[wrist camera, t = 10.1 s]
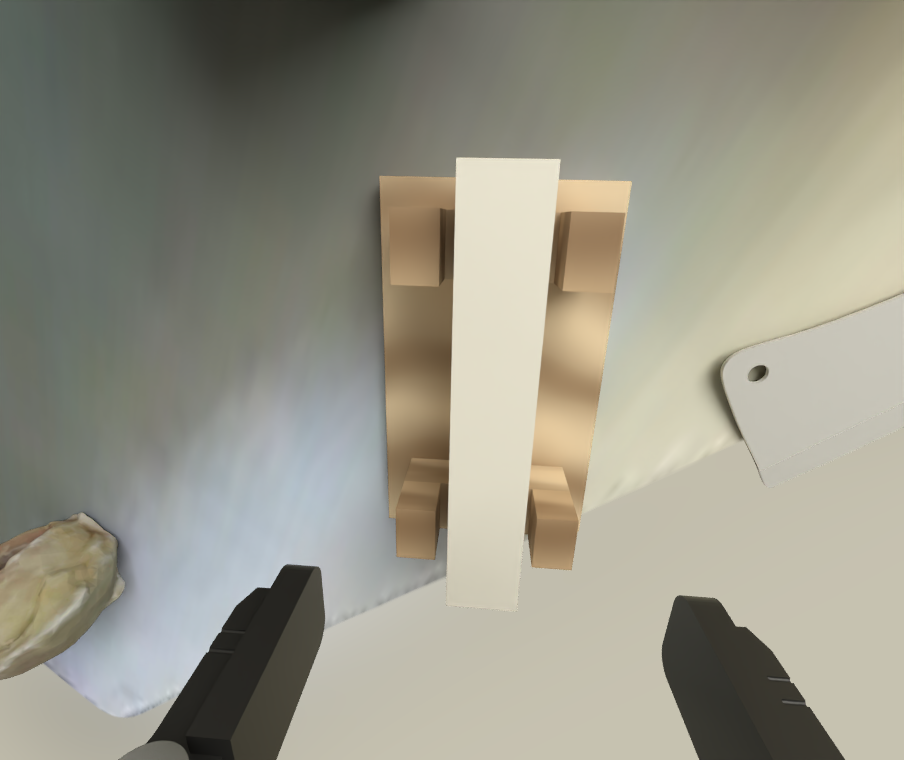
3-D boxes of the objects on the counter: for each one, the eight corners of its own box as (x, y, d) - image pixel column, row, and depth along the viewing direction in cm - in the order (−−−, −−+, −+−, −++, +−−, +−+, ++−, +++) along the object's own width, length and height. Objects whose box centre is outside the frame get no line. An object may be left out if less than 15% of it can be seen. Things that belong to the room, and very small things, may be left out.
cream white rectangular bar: (512, 553, 25) (516, 611, 22) (452, 549, 25) (445, 605, 22) (545, 171, 18) (560, 159, 15) (462, 170, 19) (456, 157, 15)
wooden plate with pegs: (574, 516, 29) (597, 595, 23) (393, 503, 30) (369, 577, 23) (622, 183, 22) (674, 169, 16) (386, 178, 23) (348, 163, 17)
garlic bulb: (160, 522, 35) (107, 633, 26) (112, 599, 36) (46, 730, 27) (17, 479, 31) (-103, 593, 22) (-30, 568, 32) (-162, 709, 23)
